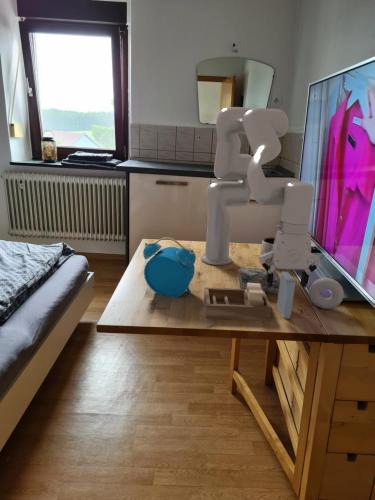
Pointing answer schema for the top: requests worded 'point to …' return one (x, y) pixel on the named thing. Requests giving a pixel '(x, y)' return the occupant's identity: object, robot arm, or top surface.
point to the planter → (267, 247)
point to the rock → (258, 279)
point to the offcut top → (254, 291)
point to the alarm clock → (169, 268)
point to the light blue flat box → (285, 294)
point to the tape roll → (326, 284)
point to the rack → (233, 305)
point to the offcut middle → (253, 302)
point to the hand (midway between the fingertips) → (286, 285)
